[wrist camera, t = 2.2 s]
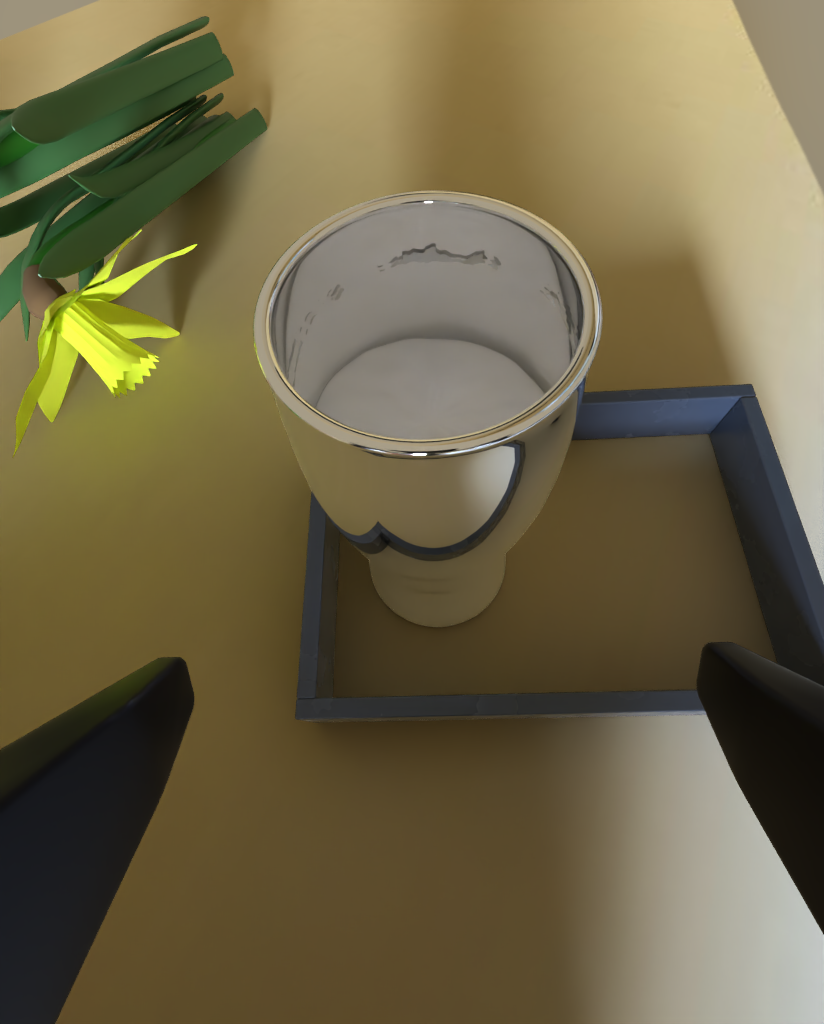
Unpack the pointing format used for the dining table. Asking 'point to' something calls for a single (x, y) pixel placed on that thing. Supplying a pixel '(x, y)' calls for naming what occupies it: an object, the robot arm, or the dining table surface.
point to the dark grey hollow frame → (793, 632)
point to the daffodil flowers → (106, 201)
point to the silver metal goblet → (430, 383)
